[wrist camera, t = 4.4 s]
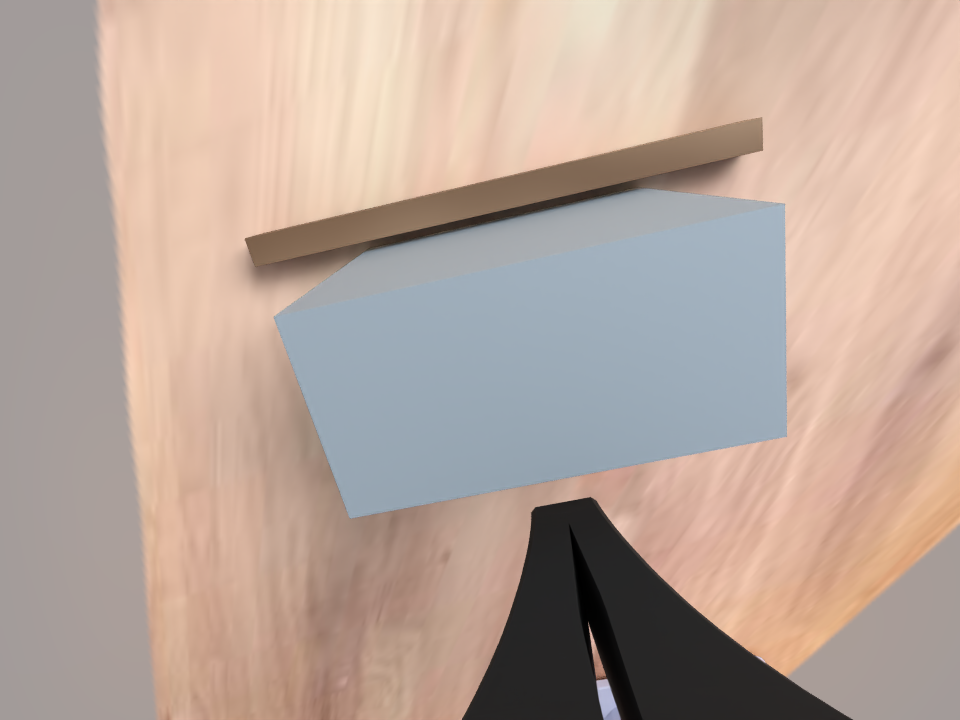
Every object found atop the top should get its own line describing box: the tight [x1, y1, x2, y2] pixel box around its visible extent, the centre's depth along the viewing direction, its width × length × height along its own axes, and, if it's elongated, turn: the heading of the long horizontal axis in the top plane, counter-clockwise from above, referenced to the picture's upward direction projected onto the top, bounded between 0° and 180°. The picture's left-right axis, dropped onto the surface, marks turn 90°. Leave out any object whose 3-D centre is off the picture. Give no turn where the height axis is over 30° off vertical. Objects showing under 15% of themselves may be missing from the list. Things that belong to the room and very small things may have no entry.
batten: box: [245, 117, 763, 267], centre depth 14 cm, size 1×14×1 cm, turn 103°
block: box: [274, 187, 787, 519], centre depth 12 cm, size 4×8×8 cm, turn 102°
